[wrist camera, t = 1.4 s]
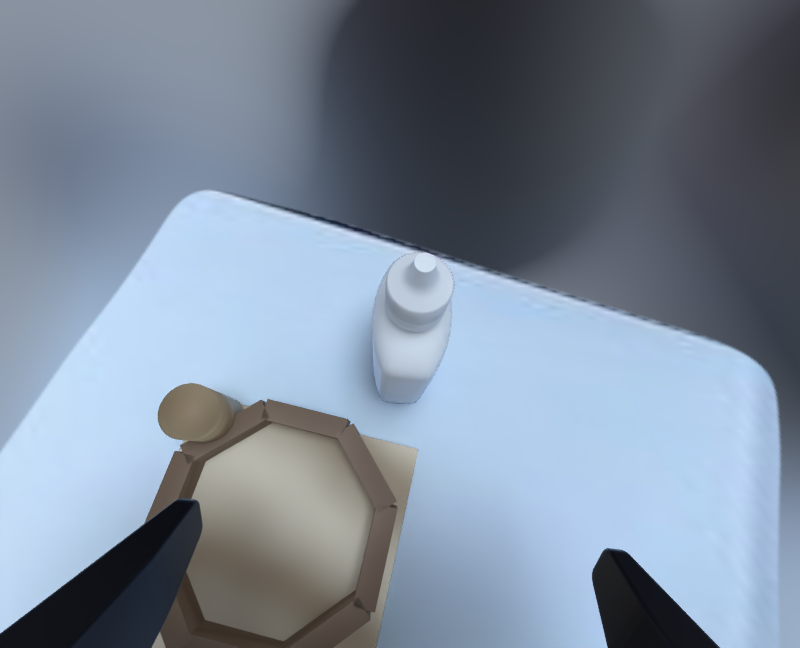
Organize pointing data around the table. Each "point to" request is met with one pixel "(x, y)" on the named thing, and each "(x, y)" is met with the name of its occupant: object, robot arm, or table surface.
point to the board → (281, 524)
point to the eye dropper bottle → (411, 325)
